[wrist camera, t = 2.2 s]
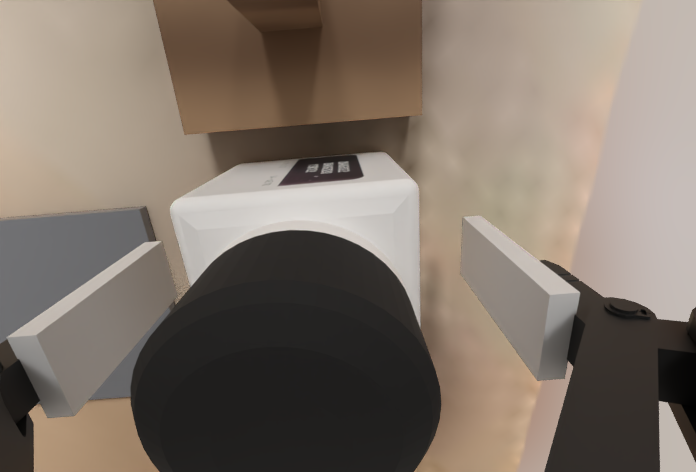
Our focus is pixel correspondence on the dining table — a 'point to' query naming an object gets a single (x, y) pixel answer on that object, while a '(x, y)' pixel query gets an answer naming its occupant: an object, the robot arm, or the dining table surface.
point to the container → (293, 325)
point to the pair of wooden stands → (291, 61)
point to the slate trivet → (67, 269)
